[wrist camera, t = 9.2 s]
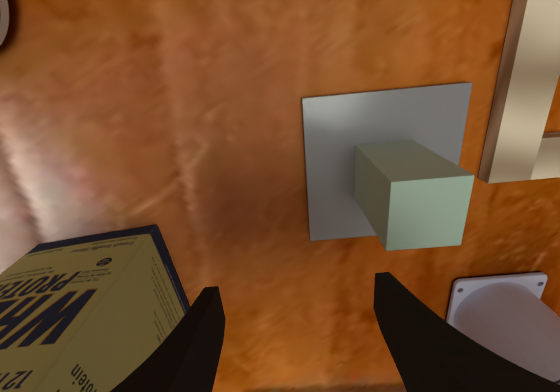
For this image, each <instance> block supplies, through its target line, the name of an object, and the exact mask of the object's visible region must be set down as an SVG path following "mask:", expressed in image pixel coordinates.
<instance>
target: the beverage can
mask: <svg viewBox="0 0 560 392" xmlns="http://www.w3.org/2000/svg"><path fill="white" fill-rule="evenodd" d="M8 26H9V6H8V1H7V0H0V45H1V44H2V43H3V41H4V39H5V37H6V34H7V31H8Z"/></svg>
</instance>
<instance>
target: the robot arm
mask: <svg viewBox="0 0 560 392" xmlns="http://www.w3.org/2000/svg"><path fill="white" fill-rule="evenodd" d="M546 281H547V275H545V274H544V273H543V272H538V273H526V274H513V275H501V276H489V277H477V278H465V279H457V280H456V281H455V282H454V283H453V288H452V293H451V299H450V304H449V309H448V314H447V319H446V321H444V320H443V319H442V318H441V317H439V316H438V315H437V314H435V313H434V312H433V311H432V310H430V309H429V308H428V307H427V306H426V305H425V304H423V303H422V302H421V301H420V300H419V299H418V298H416V297H415V296H414V295H413V294H412V293H411V292H410V291H409V290H408V289H406V288H405V287H404V286H403V285H402V284H401V283H400V282H399V281H398V280H397V279H396V278H395V277H394V276H393V275H392V274H390V273H389V272H384V273H375V289H374V311H375V314H376V317H377V321H378V324H379V327H380V330H381V332H382V335H383V337H384V339H385V341H386V344H387V346H388V348H389V351H390V353H391V355H392V357H393V360H394V362H395V364H396V366H397V369H398V371H399V373H400V375H401V378H402V380H403V383H404V385H405V388H406V390H407V392H560V317H559V316H558V315H557V314H556V313H555V312H553V311H552V310H551V309H550V308H549V307H548V306H547V305H546V304H545V303H543V302H542V301H541V300H540V298H541V295H542V292H543V290H544V287H545V284H546ZM459 288H460V289H459ZM224 329H225V315H224V311H223V306H222V302H221V297H220V293H219V288H218V286H215V287H205V288H204V289H203V290H202V292H201V293H200V295H199V296H198V297H197V299H196V300H195V302H194V303H193V304H192V306H191V307H190V309H189V310H188V311H187V313H186V314H185V315H184V316H183V318H182V319H181V320H180V322H179V323H178V324H177V326H176V327H175V328H174V329H173V330H172V332H171V333H170V334H169V335H168V336H167V337H166V339H165V340H164V341H163V342H162V343H161V344H160V345H159V347H158V348H157V349H156V350H155V351H154V352H153V353H152V354H151V355H150V356H149V357H148V358H147V359H146V360H145V361H144V362H143V363H142V364H141V365H140V366H139V367H138V368H136V369H135V370H134V371H133V372H132V373H131V374H130V375H129V376H128V377H126V378H125V379H124V380H123V381H122V382H121V383H119V384H118V385H117V386H116V387H115V388H113V389H112V390H111V391H110V392H212V389H213V384H214V380H215V376H216V371H217V367H218V362H219V358H220V354H221V349H222V344H223V338H224Z"/></svg>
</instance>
